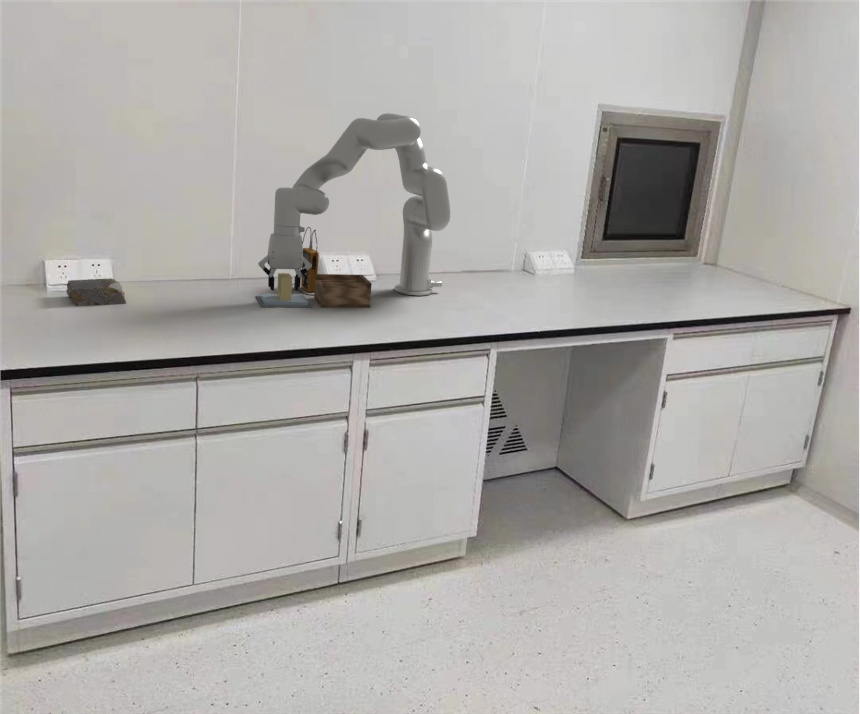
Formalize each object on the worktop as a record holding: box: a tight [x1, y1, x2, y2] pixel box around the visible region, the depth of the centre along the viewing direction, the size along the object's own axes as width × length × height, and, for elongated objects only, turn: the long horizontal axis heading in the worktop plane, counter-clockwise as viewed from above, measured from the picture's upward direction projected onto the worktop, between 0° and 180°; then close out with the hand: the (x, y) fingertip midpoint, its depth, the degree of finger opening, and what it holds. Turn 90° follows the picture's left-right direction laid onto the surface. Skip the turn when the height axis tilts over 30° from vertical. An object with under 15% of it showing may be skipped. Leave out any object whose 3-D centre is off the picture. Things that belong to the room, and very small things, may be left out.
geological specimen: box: [66, 277, 127, 307], centre depth 242 cm, size 11×6×15 cm
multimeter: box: [292, 226, 320, 296], centre depth 273 cm, size 15×10×20 cm
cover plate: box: [259, 272, 310, 305], centre depth 259 cm, size 13×9×8 cm
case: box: [313, 273, 373, 309], centre depth 265 cm, size 15×11×8 cm
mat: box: [255, 295, 313, 309], centre depth 260 cm, size 15×12×1 cm
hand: (284, 289), depth 259 cm, fingers open, 6 cm apart
